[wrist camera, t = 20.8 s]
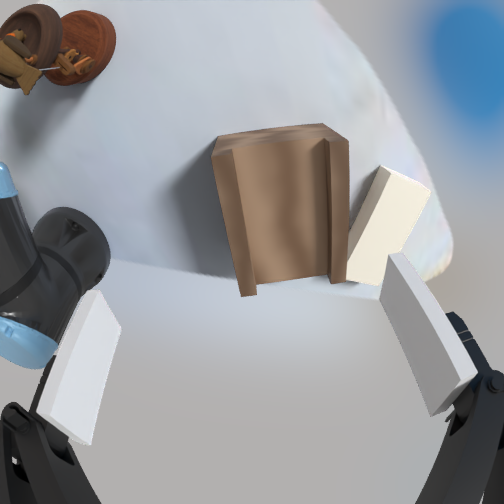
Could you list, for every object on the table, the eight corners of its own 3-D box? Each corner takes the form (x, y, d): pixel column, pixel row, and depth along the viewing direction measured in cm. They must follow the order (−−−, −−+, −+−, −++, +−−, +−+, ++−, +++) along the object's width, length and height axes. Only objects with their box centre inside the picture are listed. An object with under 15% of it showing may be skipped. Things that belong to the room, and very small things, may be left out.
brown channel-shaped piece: (240, 252, 45) (241, 296, 37) (218, 136, 35) (210, 157, 27) (327, 240, 45) (345, 281, 36) (322, 123, 35) (348, 140, 26)
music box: (142, 25, 26) (44, 17, 10) (106, 96, 32) (6, 149, 16) (60, -1, 21) (-47, 2, 5) (32, 65, 26) (-71, 103, 11)
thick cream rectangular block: (332, 262, 48) (338, 278, 45) (379, 163, 38) (391, 173, 35) (370, 271, 49) (378, 286, 46) (418, 181, 40) (431, 192, 36)
